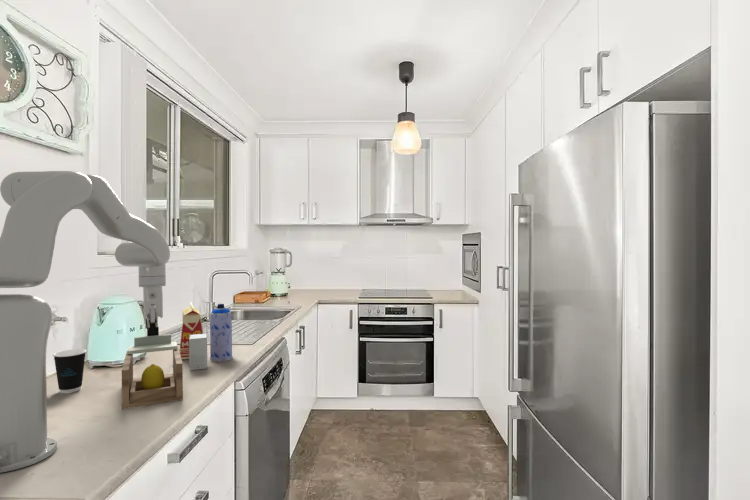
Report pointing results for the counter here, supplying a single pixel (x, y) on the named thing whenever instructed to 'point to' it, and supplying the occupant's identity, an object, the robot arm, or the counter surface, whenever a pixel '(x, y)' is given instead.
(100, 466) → the counter surface
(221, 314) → the aerosol can
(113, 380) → the counter surface
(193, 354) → the small box
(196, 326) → the milk carton
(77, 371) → the dixie cup
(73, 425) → the counter surface
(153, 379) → the lemon
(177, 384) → the walnut box
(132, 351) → the lid
